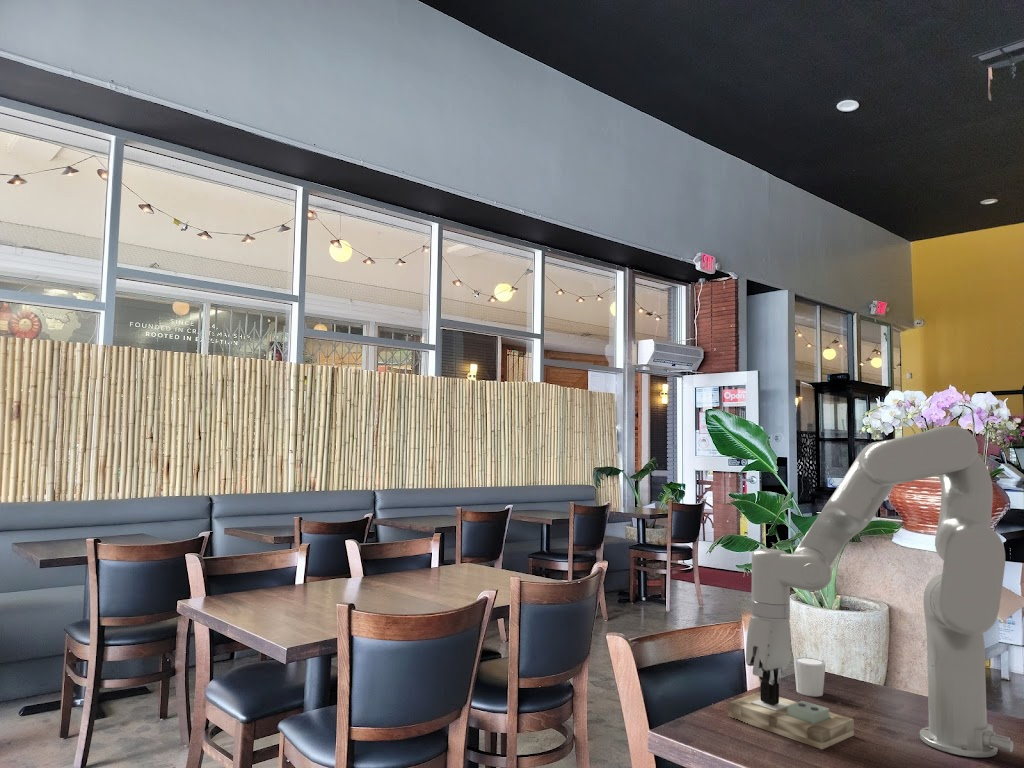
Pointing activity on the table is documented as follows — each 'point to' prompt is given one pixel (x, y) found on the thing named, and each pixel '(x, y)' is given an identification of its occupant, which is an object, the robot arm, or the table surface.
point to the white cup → (809, 676)
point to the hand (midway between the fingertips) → (769, 702)
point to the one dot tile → (775, 707)
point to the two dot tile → (808, 712)
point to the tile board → (792, 723)
